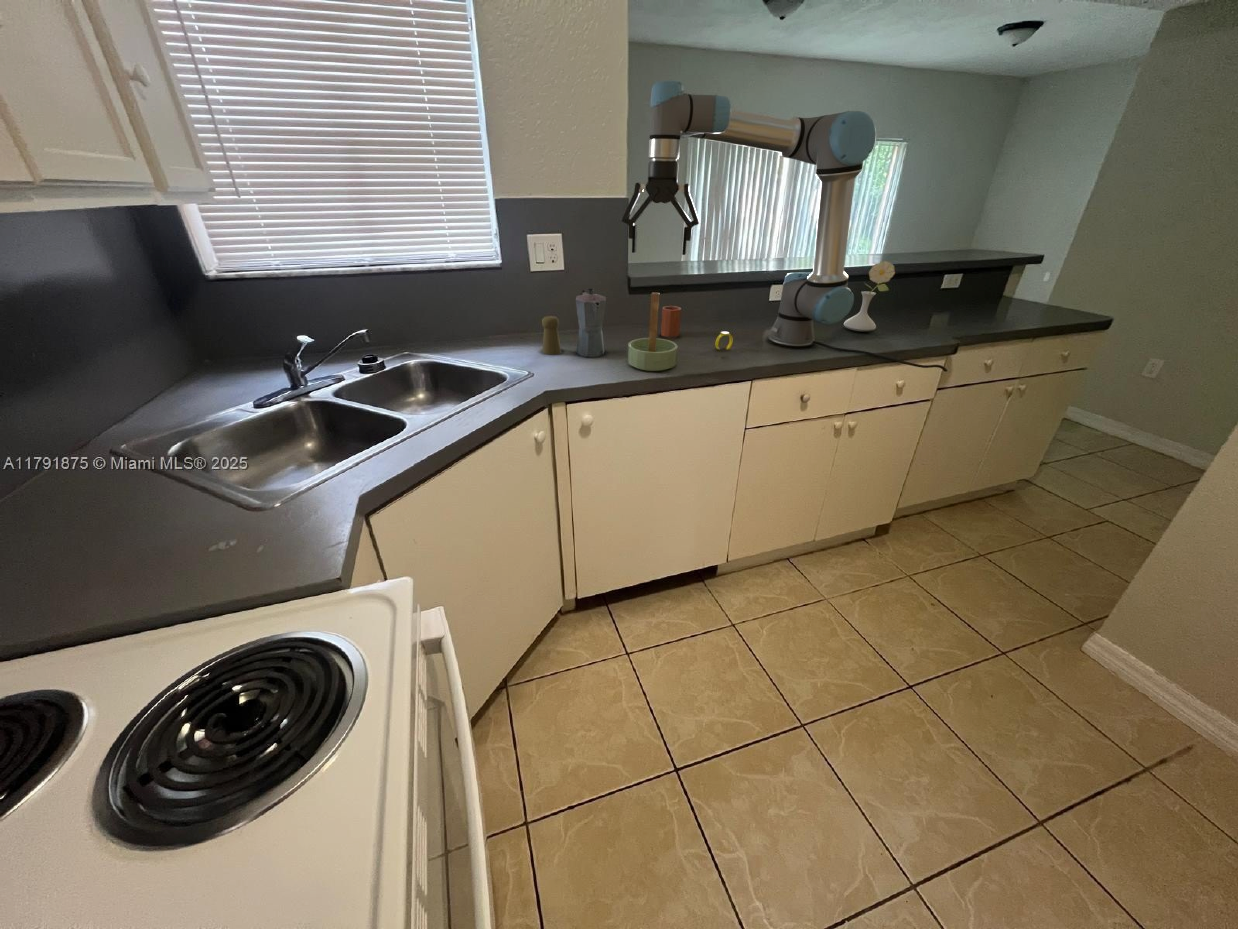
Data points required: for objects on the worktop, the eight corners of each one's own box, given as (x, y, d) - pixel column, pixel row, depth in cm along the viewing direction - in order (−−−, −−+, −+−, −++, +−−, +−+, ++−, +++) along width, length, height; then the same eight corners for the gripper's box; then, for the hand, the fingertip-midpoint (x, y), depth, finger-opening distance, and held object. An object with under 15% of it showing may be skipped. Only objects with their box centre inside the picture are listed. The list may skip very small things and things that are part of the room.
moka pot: (585, 362, 148) (584, 293, 137) (566, 347, 159) (564, 284, 149) (613, 357, 152) (614, 291, 141) (593, 344, 163) (592, 281, 153)
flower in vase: (836, 328, 187) (853, 258, 174) (852, 324, 193) (870, 256, 180) (868, 336, 178) (889, 264, 165) (884, 332, 184) (906, 261, 171)
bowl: (678, 358, 152) (679, 339, 149) (673, 374, 140) (674, 354, 137) (632, 355, 154) (632, 336, 151) (623, 370, 142) (624, 350, 139)
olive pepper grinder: (564, 349, 157) (563, 315, 152) (556, 355, 152) (554, 320, 147) (547, 347, 159) (545, 313, 153) (539, 353, 154) (536, 318, 148)
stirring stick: (655, 361, 147) (659, 292, 137) (654, 363, 146) (658, 294, 135) (648, 360, 148) (652, 292, 137) (647, 362, 146) (651, 293, 136)
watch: (728, 348, 163) (730, 330, 160) (733, 350, 161) (735, 332, 157) (713, 350, 160) (715, 332, 157) (717, 352, 158) (720, 334, 155)
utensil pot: (679, 334, 175) (681, 306, 170) (677, 340, 170) (680, 310, 164) (661, 333, 176) (663, 305, 171) (659, 338, 171) (661, 309, 166)
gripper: (714, 161, 121) (706, 253, 132) (617, 160, 125) (616, 249, 136) (713, 160, 115) (704, 256, 126) (611, 159, 119) (610, 252, 130)
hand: (658, 253), depth 131 cm, fingers open, 13 cm apart
